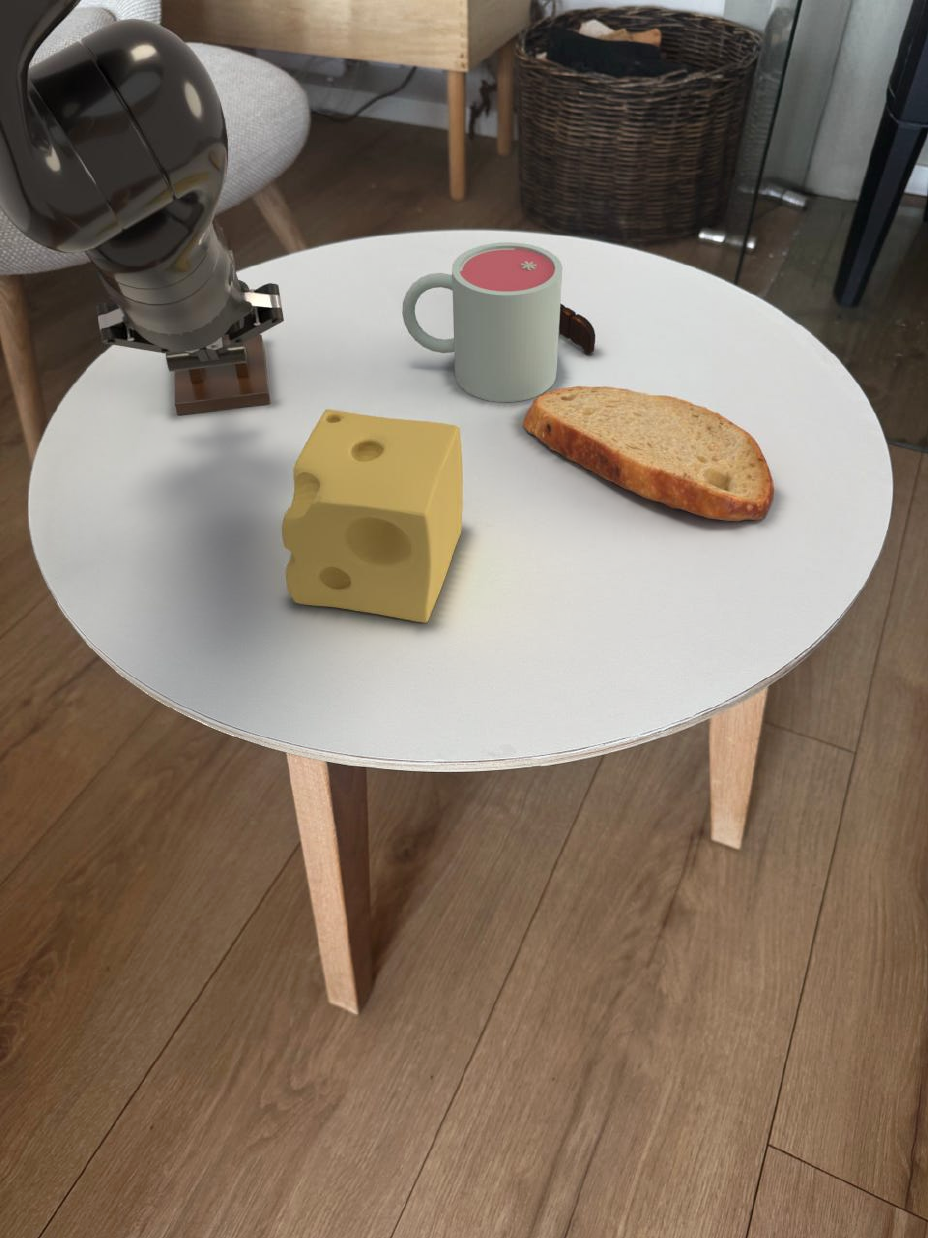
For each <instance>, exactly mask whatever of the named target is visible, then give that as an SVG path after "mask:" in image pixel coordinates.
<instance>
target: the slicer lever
mask: <svg viewBox="0 0 928 1238" xmlns="http://www.w3.org/2000/svg"><path fill="white" fill-rule="evenodd" d="M226 347H227V352H226V353H222V354H219V355H220V360H213V361H211V360H210V361H205V362H201V361H200V359H199V357H192V356H190V355H189V354H188V352H184V351H172V352H169V353H165V359H166V365H167V369H168V371H169V373H172V372H173V373H174V372H175V371H181V370H189V369H198V368H206V367H214V366H223V365H231V364H239V363H247V355H246V349H245V344H244V343H242V344H226Z"/></svg>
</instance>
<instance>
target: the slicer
mask: <svg viewBox="0 0 928 1238" xmlns="http://www.w3.org/2000/svg"><path fill="white" fill-rule="evenodd" d="M220 228H221V230H222V232H223V235H224V236H225V233H224V228H223V227H220ZM229 252H230V255H231V258H232V261H233V265H234V268H235V269H236V264H235V259H234V253H233V250H232V249H231V250H230V249H229ZM225 341H226V344H232V343H230V339H228V340H225ZM244 344H245V349H246V355H247V363H239V364H231V365H223V366H214V367H206V368H198V369H189V370H181V371H174V407H175V411H176V415H177V416H183V415H192V414H200V413H207V412H216V411H224V410H230V409H231V410H232V409H238V408H239V409H240V408H248V407H255V406H263V405H270V404H271V396H270V389H269V380H268V372H267V364H266V363H267V362H266V356H265V354H266V353H265V347H264V340H263V336H262V333H261V334H259V335H257V336H255V337H254V338H252V339H250V340H248V341H246V342H244Z"/></svg>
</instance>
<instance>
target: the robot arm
mask: <svg viewBox="0 0 928 1238" xmlns="http://www.w3.org/2000/svg"><path fill="white" fill-rule="evenodd" d="M81 2H82V0H0V210H1V211H2V213H3V214H4V215H5V217H6V218H7V219H8V221H10V222H11V224H12V225H13V226H14V227H15V228H16V229H17V230H18V231H19V232H20V233H22V235H24V236H25V237H27V238H28V239H30V240H31V241H33V242H34V243H36V244H38V245H40V246H42V247H45V248H46V249H48V250H52V251H56V252H58V253H62V254H63V253H64V254H81V253H85V255H86V256H87V258H88V259H89V261H90V262H91V263H92V265H93V267H94V268H95V269H96V271H97V273H98V276H99V279H100V281H101V283H102V285H103V288H104V290H105V292H106V294H107V296H108V298H109V299H111V300H113V302H114V303H111V302H101V303H98V304H97V305H96V306H95V308H96V313H97V322H98V327H99V332H100V337H101V343H103V344H107V345H111V346H118V347H124V348H130V349H135V350H142V351H148V352H153V353H159V354H165V355H166V353H169V352H172V351H184V352H188V354H189V355H190V356H192V357H199V359H200V361H201V362H205V361H210V360H211V361H213V360H220V355H219V354H222V353H226V352H227V347H226V341H225V340H228V339H230V343H232V344H242V343H244V342H246V341H248V340H250V339H252V338H254V337H255V336H257V335H259V334H261V335H262V334H263V333H264V332H267V331H269V330H271V329H273V328H275V327H276V326H278V325H279V324H281V323H284V321H285V317H284V311H283V305H282V298H281V293H280V286H279V284H277V283H271V282H269V283H266V284H262V285H261V286H260V287H257V288H256V289H254V288H251V289H250V286H249V285H248V283H246V282H245V281H243V280H240V279H239V277H238V275H237V271H236V267H235V268H234V265H233V261H232V258H231V255H230V252H229V250H230V249H229V246H228V243H227V240H226V237H225V234H224V235H223V233H224V231H223V232H222V230H221V227H220V225H219V223H218V221H217V220H216V218H215V215H216V212H217V209H218V205H219V202H220V199H221V196H222V193H223V189H224V186H225V183H226V178H227V173H228V167H229V138H228V137H229V136H228V131H227V123H226V118H225V114H224V110H223V107H222V103H221V100H220V96H219V94H218V91H217V89H216V87H215V84H214V82H213V79H212V77H211V75H210V74H209V72H208V70H207V69H206V67H205V65H204V63H203V62H202V61H201V59H200V58H199V56H198V55H197V54H196V53H195V51H194V50H193V48H191V47H190V46H189V45H188V44H187V43H186V42H185V41H183V40H182V38H180V37H179V36H178V35H177V34H175V33H174V32H173V31H171V30H169V29H168V28H166V27H164V26H162V25H160V24H158V23H156V22H152V21H150V20H146V19H139V18H126V19H119V20H116V21H113V22H110V23H108V24H105V25H104V26H102V27H100V28H98V29H96V30H94V31H92V32H91V33H89V34H87V35H85V36H83V37H82V38H81V39H80V41H75V42H73V43H72V44H70V45H67V46H66V47H64V48H62V49H61V50H59V51H57V52H55V53H53V54H51V55H50V56H48V57H46V58H43V59H42V60H40V61H39V62H37V63H34V64H33V65H31V66H30V64H31V62H32V61H33V58H34V57H35V55H36V53H37V51H38V50H39V48H40V47H41V46H42V45H43V43H44V42H45V41H46V40H47V39H48V38H49V36H51V34H52V33H53V32H54V31H55V30H56V29H57V27H58V26H59V25H60V24H61V23H62V22H64V20H66V19H67V18H68V17H69V16H70V15H71V14H72V12H73V11H74V10H75V9H76V8H77V6H79V4H80V3H81Z"/></svg>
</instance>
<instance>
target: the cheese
mask: <svg viewBox="0 0 928 1238" xmlns="http://www.w3.org/2000/svg"><path fill="white" fill-rule="evenodd" d="M463 468H464V467H463V447H462V438H461V429H460V426H459V425H456V424H449V423H443V422H436V421H428V420H427V421H426V420H414V419H404V418H403V419H402V418H391V417H383V416H375V415H369V414H361V413H355V412H349V411H344V410H337V409H332V408H331V409H330V408H326V409H325V410H324V411H323V413H322V414H321V416H320V417H319V420H318V421H317V423H316V425H315V426H314V428H313V429H312V431H311V433H310V435H309V437H308V439H307V441H306V442H305V444H304V446H303V448H302V450H301V452H300V453H299V455H298V457H297V459H296V460H295V463H294V466H293V469H292V473H293V476H292V477H293V495H292V496H293V497H292V500H291V503H290V506H289V508H288V509H287V511H286V512H285V513H284V517H283V520H282V524H281V535H282V542H283V546H284V548H285V549H286V550H288V551H289V552H290V557H289V561H288V563H287V565H286V569H285V580H286V581H285V582H286V588H287V590H288V593H289V595H290V597H291V599H292V600H293V602H294V603H295V604H299V605H306V606H316V607H329V608H330V607H331V608H338V609H344V610H350V611H355V612H362V613H369V614H374V615H380V616H385V617H391V618H395V619H402V620H406V621H412V622H416V623H417V622H418V623H424V624H425V623H428V622H429V620H430V617H431V615H432V613H433V610H434V607H435V605H436V602H437V600H438V597H439V595H440V593H441V590H442V587H443V585H444V582H445V579H446V576H447V573H448V570H449V568H450V565H451V562H452V558H453V555H454V553H455V550H456V547H457V545H458V542H459V539H460V536H461V534H462V532H463V531H462V529H463V511H464V510H463V507H464V485H463V484H464V477H463V475H464V472H463Z"/></svg>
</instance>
